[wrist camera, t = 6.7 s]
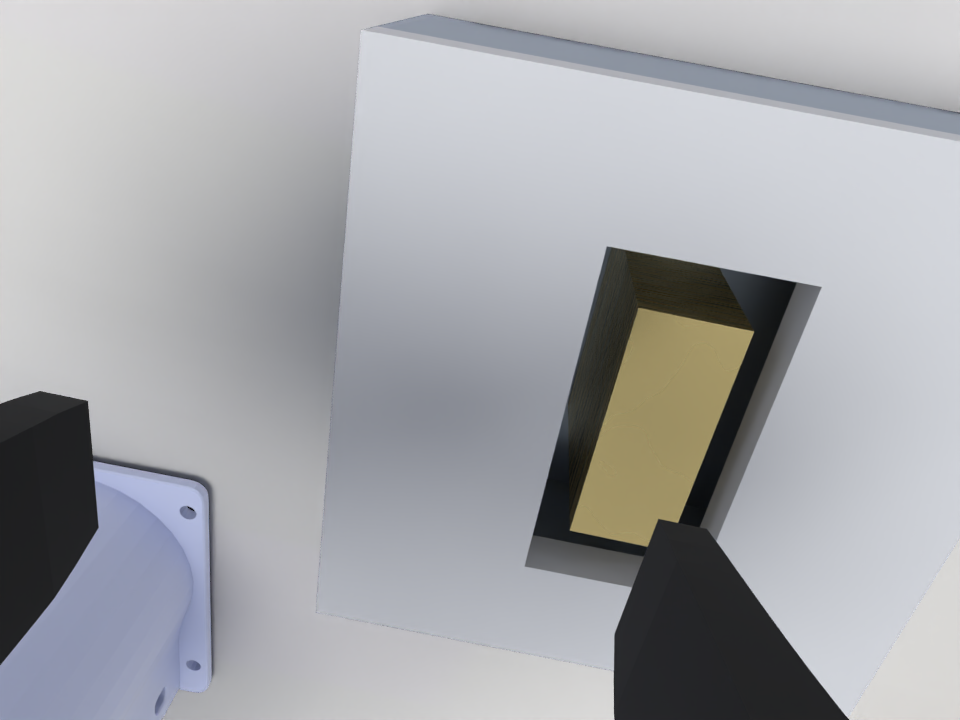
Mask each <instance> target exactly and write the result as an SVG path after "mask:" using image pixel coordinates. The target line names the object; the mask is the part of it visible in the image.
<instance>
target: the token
mask: <svg viewBox="0 0 960 720" xmlns="http://www.w3.org/2000/svg"><path fill="white" fill-rule="evenodd" d="M753 334H754V330H753V328H752V326H751V325H750V323H749V321H748V319H747V317H746V316H745V314H744V312H743V310H742V308H741V306H740V305H739V303H738V301H737V299H736V297H735V296H734V294H733V292H732V290H731V288H730V286H729V285H728V283H727V281H726V279H725V277H724V276H723V274H722V272H721V270H720V268H719V267H714V266H709V265H703V264H698V263H693V262H687V261H682V260H677V259H672V258H666V257H661V256H656V255H651V254H645V253H640V252H635V251H629V250H624V249H619V248H614V247H611V251H610V254H609V258H608V261H607V265H606V269H605V272H604V276H603V279H602V283H601V287H600V290H599V294H598V297H597V301H596V305H595V308H594V312H593V315H592V319H591V323H590V326H589V330H588V333H587V337H586V341H585V344H584V348H583V351H582V355H581V359H580V362H579V366H578V369H577V373H576V377H575V380H574V384H573V387H572V391H571V395H570V398H569V402H568V443H569V513H570V531H574V532H579V533H584V534H589V535H594V536H599V537H603V538H608V539H613V540H618V541H623V542H627V543H632V544H637V545H642V546H647V547H648V545H649V542H650V539H651V537H652V534H653V531H654V529H655V526H656V524H657V521H658V519H662V520H667V521H672V522H676V523H678V522H679V519H680V517H681V514H682V512H683V509H684V507H685V504H686V502H687V499H688V497H689V494H690V492H691V489H692V487H693V484H694V482H695V479H696V477H697V474H698V472H699V469H700V467H701V464H702V461H703V459H704V456H705V454H706V451H707V449H708V446H709V444H710V441H711V439H712V436H713V434H714V431H715V429H716V426H717V424H718V421H719V419H720V416H721V414H722V411H723V409H724V406H725V404H726V401H727V399H728V396H729V394H730V391H731V389H732V386H733V384H734V381H735V379H736V376H737V374H738V371H739V369H740V366H741V364H742V361H743V359H744V356H745V354H746V351H747V349H748V346H749V344H750V341H751V339H752V336H753Z"/></svg>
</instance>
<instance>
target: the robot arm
mask: <svg viewBox="0 0 960 720" xmlns="http://www.w3.org/2000/svg"><path fill="white" fill-rule="evenodd" d="M187 506H189V507H191V508H193V509H194V510H195V511H192V510H190V509H189V508H188V507H187ZM211 679H212V666H211V610H210V554H209V498H208V492H207V490H206V489H205V487H204V486H203V485H201V484H200V483H198V482H196V481H193V480H188V479H183V478H178V477H173V476H167V475H162V474H157V473H152V472H147V471H142V470H137V469H132V468H127V467H121V466H116V465H111V464H106V463H101V462H96V461H93V455H92V444H91V432H90V420H89V409H88V401H85V400H80V399H75V398H71V397H66V396H61V395H56V394H51V393H46V392H42V391H39V392H36V393H32V394H29V395H26V396H22V397H19V398H16V399H13V400H10V401H7V402H4V403H1V404H0V720H162V719H163V717H164V715H165V713H166V711H167V710H168V708H169V706H170V704H171V702H172V700H173V698H174V697H175V695H176V693H177V691H178V689H181V690H186V691H191V692H198V693H199V692H203V691H205V690H206V689H207V688H208V686H209V684H210V682H211ZM614 718H615V720H849V719H848V718H847V717H846V716H845V714H844V713H843V712H842V710H841V709H840V708H839V707H838V705H837V704H836V703H835V702H834V700H833V699H832V698H831V697H830V695H829V694H828V693H827V691H826V690H825V689H824V688H823V686H822V685H821V684H820V683H819V681H818V680H817V679H816V677H815V676H814V675H813V673H812V672H811V671H810V670H809V668H808V667H807V666H806V664H805V663H804V662H803V660H802V659H801V658H800V656H799V655H798V654H797V652H796V651H795V650H794V648H793V647H792V646H791V644H790V643H789V642H788V640H787V639H786V638H785V636H784V635H783V633H782V632H781V631H780V629H779V628H778V627H777V625H776V624H775V623H774V621H773V620H772V618H771V617H770V616H769V614H768V613H767V611H766V610H765V609H764V607H763V606H762V605H761V603H760V602H759V600H758V599H757V598H756V596H755V595H754V593H753V592H752V591H751V589H750V588H749V586H748V585H747V584H746V582H745V581H744V579H743V578H742V577H741V575H740V574H739V572H738V571H737V569H736V568H735V567H734V565H733V564H732V562H731V561H730V560H729V558H728V557H727V555H726V554H725V553H724V551H723V550H722V548H721V547H720V546H719V544H718V543H717V542H716V540H715V539H714V538H713V536H712V535H711V534H710V532H709V531H708V530H707V529H706V528H701V527H696V526H691V525H686V524H681V523H676V522H672V521H667V520H662V519H658V521H657V524H656V526H655V529H654V531H653V534H652V537H651V539H650V542H649V545H648V547H647V550H646V552H645V555H644V558H643V560H642V563H641V566H640V568H639V571H638V573H637V576H636V579H635V581H634V584H633V587H632V589H631V592H630V594H629V597H628V600H627V602H626V605H625V608H624V610H623V613H622V615H621V618H620V621H619V623H618V626H617V629H616V631H615V634H614Z"/></svg>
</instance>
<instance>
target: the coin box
mask: <svg viewBox="0 0 960 720" xmlns="http://www.w3.org/2000/svg"><path fill="white" fill-rule="evenodd" d="M611 247H614V248H619V249H624V250H629V251H635V252H640V253H645V254H651V255H656V256H661V257H666V258H672V259H677V260H682V261H687V262H693V263H698V264H703V265H709V266H714V267H719V268H720V270H721V272H722V274H723V276H724V277H725V279H726V281H727V283H728V285H729V286H730V288H731V290H732V292H733V294H734V296H735V297H736V299H737V301H738V303H739V305H740V306H741V308H742V310H743V312H744V314H745V316H746V317H747V319H748V321H749V323H750V325H751V326H752V328H753V330H754V334H753V336H752V339H751V341H750V344H749V346H748V349H747V351H746V354H745V356H744V359H743V361H742V364H741V366H740V369H739V371H738V374H737V376H736V379H735V381H734V384H733V386H732V389H731V391H730V394H729V396H728V399H727V401H726V404H725V406H724V409H723V411H722V414H721V416H720V419H719V421H718V424H717V426H716V429H715V431H714V434H713V436H712V439H711V441H710V444H709V446H708V449H707V451H706V454H705V456H704V459H703V461H702V464H701V467H700V469H699V472H698V474H697V477H696V479H695V482H694V484H693V487H692V489H691V492H690V494H689V497H688V499H687V502H686V504H685V507H684V509H683V512H682V514H681V517H680V519H679V522H678V523H681V524H686V525H691V526H696V527H701V528H706V529H707V530H708V531H709V532H710V534H711V535H712V536H713V538H714V539H715V540H716V542H717V543H718V544H719V546H720V547H721V548H722V550H723V551H724V553H725V554H726V555H727V557H728V558H729V560H730V561H731V562H732V564H733V565H734V567H735V568H736V569H737V571H738V572H739V574H740V575H741V577H742V578H743V579H744V581H745V582H746V584H747V585H748V586H749V588H750V589H751V591H752V592H753V593H754V595H755V596H756V598H757V599H758V600H759V602H760V603H761V605H762V606H763V607H764V609H765V610H766V611H767V613H768V614H769V616H770V617H771V618H772V620H773V621H774V623H775V624H776V625H777V627H778V628H779V629H780V631H781V632H782V633H783V635H784V636H785V638H786V639H787V640H788V642H789V643H790V644H791V646H792V647H793V648H794V650H795V651H796V652H797V654H798V655H799V656H800V658H801V659H802V660H803V662H804V663H805V664H806V666H807V667H808V668H809V670H810V671H811V672H812V673H813V675H814V676H815V677H816V679H817V680H818V681H819V683H820V684H821V685H822V686H823V688H824V689H825V690H826V691H827V693H828V694H829V695H830V697H831V698H832V699H833V700H834V702H835V703H836V704H837V705H838V707H839V708H840V709H841V710H842V712H843V713H844V714H845V716H846V717H849V715H850V714H851V712H852V711H853V709H854V707H855V706H856V704H857V703H858V701H859V699H860V698H861V696H862V694H863V693H864V691H865V690H866V688H867V686H868V685H869V683H870V682H871V680H872V678H873V677H874V675H875V674H876V672H877V670H878V669H879V667H880V666H881V664H882V662H883V661H884V659H885V658H886V656H887V654H888V653H889V651H890V650H891V648H892V646H893V645H894V643H895V641H896V640H897V638H898V637H899V635H900V633H901V632H902V630H903V629H904V627H905V625H906V624H907V622H908V621H909V619H910V617H911V616H912V614H913V613H914V611H915V609H916V608H917V606H918V605H919V603H920V601H921V600H922V598H923V597H924V595H925V593H926V592H927V590H928V589H929V587H930V585H931V584H932V582H933V580H934V579H935V577H936V576H937V574H938V572H939V571H940V569H941V568H942V566H943V564H944V563H945V561H946V560H947V558H948V556H949V555H950V553H951V552H952V550H953V548H954V547H955V545H956V544H957V542H958V540H959V539H960V113H958V112H952V111H947V110H941V109H936V108H931V107H925V106H920V105H915V104H909V103H904V102H898V101H893V100H888V99H882V98H877V97H872V96H866V95H861V94H855V93H850V92H845V91H839V90H834V89H829V88H823V87H818V86H813V85H807V84H802V83H796V82H791V81H786V80H780V79H775V78H770V77H764V76H759V75H753V74H748V73H743V72H737V71H732V70H727V69H721V68H716V67H710V66H705V65H700V64H694V63H689V62H684V61H678V60H673V59H667V58H662V57H657V56H651V55H646V54H641V53H635V52H630V51H624V50H619V49H614V48H608V47H603V46H598V45H592V44H587V43H582V42H576V41H571V40H565V39H560V38H555V37H549V36H544V35H539V34H533V33H528V32H522V31H517V30H512V29H506V28H501V27H496V26H490V25H485V24H479V23H474V22H469V21H463V20H458V19H453V18H447V17H442V16H436V15H431V14H426V15H421V16H417V17H413V18H409V19H405V20H400V21H396V22H392V23H388V24H384V25H379V26H375V27H371V28H367V29H362V30H361V37H360V50H359V63H358V76H357V88H356V101H355V114H354V127H353V140H352V153H351V165H350V178H349V191H348V204H347V217H346V229H345V242H344V255H343V268H342V281H341V294H340V306H339V319H338V332H337V345H336V358H335V371H334V383H333V396H332V409H331V422H330V435H329V448H328V460H327V473H326V486H325V499H324V512H323V524H322V537H321V550H320V563H319V576H318V589H317V601H316V613H321V614H326V615H331V616H337V617H342V618H347V619H352V620H357V621H362V622H367V623H372V624H377V625H382V626H387V627H392V628H397V629H402V630H408V631H413V632H418V633H423V634H428V635H433V636H438V637H443V638H448V639H453V640H458V641H463V642H468V643H474V644H479V645H484V646H489V647H494V648H499V649H504V650H509V651H514V652H519V653H524V654H529V655H534V656H539V657H545V658H550V659H555V660H560V661H565V662H570V663H575V664H580V665H585V666H590V667H595V668H600V669H605V670H610V671H614V634H615V631H616V629H617V626H618V623H619V621H620V618H621V615H622V613H623V610H624V608H625V605H626V602H627V600H628V597H629V594H630V592H631V589H632V587H633V584H634V581H635V579H636V576H637V573H638V571H639V568H640V566H641V563H642V560H643V558H644V555H645V552H646V550H647V546H642V545H637V544H632V543H627V542H623V541H618V540H613V539H608V538H603V537H599V536H594V535H589V534H584V533H579V532H574V531H570V513H569V443H568V402H569V398H570V395H571V391H572V387H573V384H574V380H575V377H576V373H577V369H578V366H579V362H580V359H581V355H582V351H583V348H584V344H585V341H586V337H587V333H588V330H589V326H590V323H591V319H592V315H593V312H594V308H595V305H596V301H597V297H598V294H599V290H600V287H601V283H602V279H603V276H604V272H605V269H606V265H607V261H608V258H609V254H610V251H611Z"/></svg>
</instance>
